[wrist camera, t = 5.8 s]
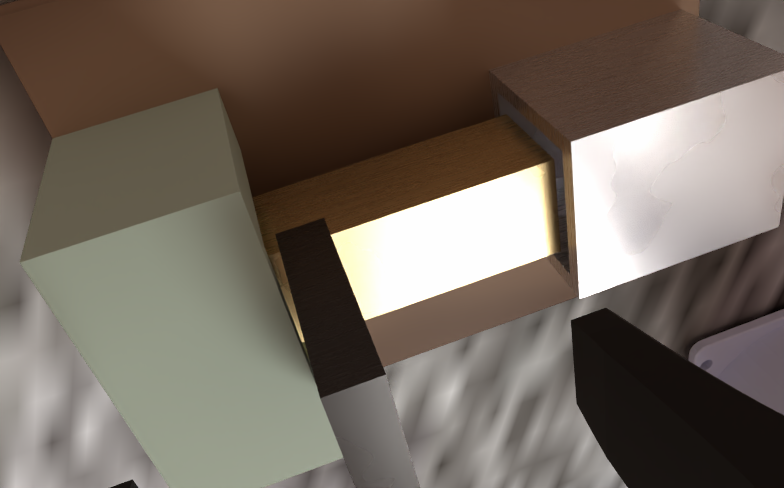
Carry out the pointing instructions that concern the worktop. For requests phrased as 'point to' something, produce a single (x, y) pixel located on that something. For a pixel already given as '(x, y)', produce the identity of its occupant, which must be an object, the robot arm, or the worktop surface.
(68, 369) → the worktop surface
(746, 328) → the robot arm
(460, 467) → the worktop surface
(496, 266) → the light wooden block
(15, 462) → the worktop surface
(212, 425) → the socket block
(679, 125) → the white cardboard cube
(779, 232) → the worktop surface
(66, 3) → the walnut board
